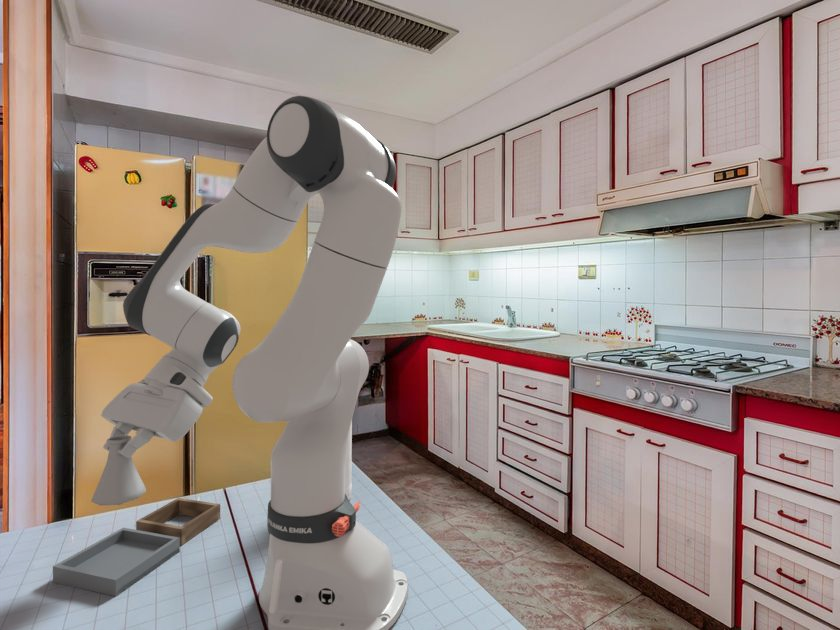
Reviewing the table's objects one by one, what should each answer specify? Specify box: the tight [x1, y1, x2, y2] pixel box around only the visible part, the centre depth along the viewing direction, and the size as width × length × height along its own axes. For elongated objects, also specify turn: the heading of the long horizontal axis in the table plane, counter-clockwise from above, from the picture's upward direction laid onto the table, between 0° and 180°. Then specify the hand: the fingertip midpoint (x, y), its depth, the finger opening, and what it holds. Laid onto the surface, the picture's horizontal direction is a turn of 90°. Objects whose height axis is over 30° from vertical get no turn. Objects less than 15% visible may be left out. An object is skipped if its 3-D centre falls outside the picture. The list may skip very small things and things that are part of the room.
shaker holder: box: [135, 497, 221, 546], centre depth 88 cm, size 10×10×3 cm
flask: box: [90, 434, 147, 506], centre depth 74 cm, size 7×7×10 cm
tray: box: [52, 527, 181, 597], centre depth 75 cm, size 12×12×2 cm
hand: (115, 453), depth 74 cm, fingers closed on flask, 3 cm apart
